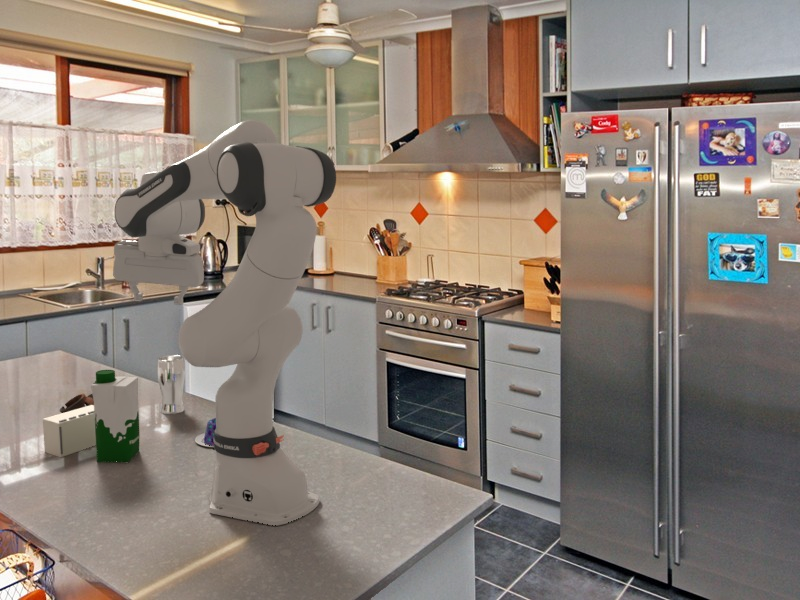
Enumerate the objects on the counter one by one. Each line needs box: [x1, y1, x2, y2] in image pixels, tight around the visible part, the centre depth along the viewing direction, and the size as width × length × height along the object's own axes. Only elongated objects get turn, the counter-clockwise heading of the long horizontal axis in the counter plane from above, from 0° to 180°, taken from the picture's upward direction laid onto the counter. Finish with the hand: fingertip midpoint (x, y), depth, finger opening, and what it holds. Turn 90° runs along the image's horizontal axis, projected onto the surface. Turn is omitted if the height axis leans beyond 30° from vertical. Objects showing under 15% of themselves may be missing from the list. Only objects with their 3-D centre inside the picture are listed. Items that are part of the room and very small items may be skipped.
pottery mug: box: [59, 393, 94, 414], centre depth 195 cm, size 12×10×8 cm
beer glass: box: [157, 354, 186, 415], centre depth 202 cm, size 7×7×15 cm
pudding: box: [194, 417, 216, 448], centre depth 182 cm, size 12×12×5 cm
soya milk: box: [90, 369, 141, 463], centre depth 168 cm, size 9×9×20 cm
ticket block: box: [42, 405, 96, 458], centre depth 175 cm, size 6×13×8 cm, turn 149°
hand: (158, 302), depth 171 cm, fingers open, 8 cm apart
